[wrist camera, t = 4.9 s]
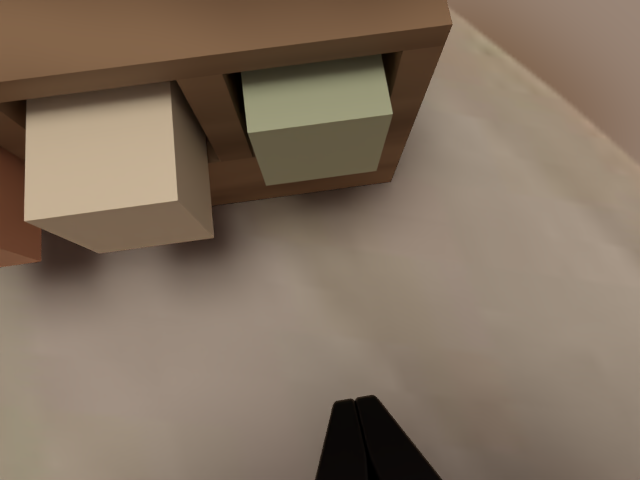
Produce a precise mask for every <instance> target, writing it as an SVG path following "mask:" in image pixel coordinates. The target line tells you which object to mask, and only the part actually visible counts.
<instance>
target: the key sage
mask: <svg viewBox="0 0 640 480" xmlns="http://www.w3.org/2000/svg"><path fill="white" fill-rule="evenodd" d="M241 77H242V87H243V96H244V105H245V114H246V123H247V132H248V136H249V138H250V141H251V144H252V147H253V150H254V153H255V155H256V158H257V161H258V164H259V167H260V170H261V172H262V175H263V178H264V181H265V184H266V186H269V185H276V184H283V183H291V182H298V181H306V180H313V179H320V178H328V177H335V176H343V175H350V174H358V173H365V172H372V171H377V167H378V164H379V160H380V157H381V153H382V150H383V147H384V143H385V140H386V136H387V133H388V129H389V126H390V122H391V119H392V115H393V112H392V107H391V102H390V97H389V92H388V87H387V82H386V77H385V72H384V67H383V62H382V57H381V54H376V55H368V56H360V57H352V58H344V59H337V60H329V61H321V62H313V63H306V64H298V65H290V66H282V67H274V68H267V69H259V70H251V71H243V72H241Z"/></svg>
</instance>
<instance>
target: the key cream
mask: <svg viewBox="0 0 640 480" xmlns="http://www.w3.org/2000/svg"><path fill="white" fill-rule="evenodd" d="M24 221H25V222H27V223H29V224H32V225H34V226H36V227H39V228H41V229H43V230H46V231H48V232H50V233H53V234H55V235H57V236H59V237H62V238H64V239H66V240H69V241H71V242H73V243H76V244H78V245H80V246H83V247H85V248H87V249H90V250H92V251H94V252H96V253H99V254H101V253H108V252H115V251H122V250H130V249H137V248H144V247H152V246H159V245H166V244H173V243H181V242H188V241H195V240H203V239H210V238H214V229H213V217H212V205H211V193H210V182H209V170H208V158H207V147H206V135H205V132H204V130H203V128H202V126H201V125H200V123H199V121H198V119H197V117H196V115H195V114H194V112H193V110H192V108H191V106H190V105H189V103H188V101H187V99H186V97H185V95H184V94H183V92H182V90H181V88H180V86H179V84H178V83H177V81H176V80H173V81H165V82H158V83H150V84H142V85H134V86H126V87H119V88H111V89H103V90H95V91H88V92H80V93H72V94H64V95H56V96H49V97H41V98H33V99H27V102H26V150H25V199H24Z"/></svg>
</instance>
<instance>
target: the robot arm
mask: <svg viewBox="0 0 640 480" xmlns="http://www.w3.org/2000/svg"><path fill="white" fill-rule="evenodd" d="M315 480H442V479H441V477H440V476H439V475H438V474H437V472H436V471H435V470H434V469H433V467H432V466H431V465H430V464H429V462H428V461H427V460H426V459H425V457H424V456H423V455H422V453H421V452H420V451H419V450H418V448H417V447H416V446H415V445H414V443H413V442H412V441H411V440H410V438H409V437H408V436H407V435H406V433H405V432H404V431H403V429H402V428H401V427H400V426H399V424H398V423H397V422H396V421H395V419H394V418H393V417H392V416H391V414H390V413H389V412H388V411H387V409H386V408H385V407H384V405H383V404H382V403H381V402H380V400H379V399H378V398H377V397H376V396H374V395H369V396H363V397H358V398H356V399H355V401H354V400H353V399H345V400H339V401H336V402H334V404H333V407H332V411H331V415H330V419H329V424H328V428H327V432H326V436H325V440H324V444H323V449H322V453H321V457H320V461H319V465H318V469H317V473H316V478H315Z"/></svg>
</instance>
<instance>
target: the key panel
mask: <svg viewBox="0 0 640 480" xmlns="http://www.w3.org/2000/svg"><path fill="white" fill-rule="evenodd" d="M451 27H452V20H451V16H450V12H449V8H448V4H447V0H0V146H1V147H3V148H4V149H6V150H8V151H9V152H11V153H12V154H14V155H15V156H17V157H19V158H20V159H22V160H23V161H25V150H26V102H27V99H33V98H41V97H49V96H56V95H64V94H72V93H80V92H88V91H95V90H103V89H111V88H119V87H126V86H134V85H142V84H150V83H158V82H165V81H173V80H176V81H177V83H178V84H179V86H180V88H181V90H182V92H183V94H184V95H185V97H186V99H187V101H188V103H189V105H190V106H191V108H192V110H193V112H194V114H195V115H196V117H197V119H198V121H199V123H200V125H201V126H202V128H203V130H204V132H205V135H206V147H207V158H208V170H209V182H210V193H211V205H212V206H215V205H222V204H229V203H237V202H244V201H252V200H259V199H266V198H274V197H281V196H289V195H296V194H303V193H311V192H318V191H325V190H333V189H340V188H348V187H355V186H362V185H370V184H377V183H384V182H391V180H392V177H393V175H394V172H395V170H396V167H397V165H398V162H399V159H400V157H401V154H402V152H403V149H404V147H405V144H406V142H407V139H408V137H409V134H410V131H411V129H412V126H413V124H414V121H415V119H416V116H417V114H418V111H419V108H420V106H421V103H422V101H423V98H424V96H425V93H426V91H427V88H428V85H429V83H430V80H431V78H432V75H433V73H434V70H435V68H436V65H437V63H438V60H439V57H440V55H441V52H442V50H443V47H444V45H445V42H446V40H447V37H448V34H449V32H450V29H451ZM376 54H381V57H382V62H383V67H384V72H385V77H386V82H387V87H388V92H389V97H390V102H391V107H392V112H393V115H392V119H391V122H390V126H389V129H388V133H387V136H386V140H385V143H384V147H383V150H382V153H381V157H380V160H379V164H378V167H377V171H372V172H365V173H358V174H350V175H343V176H335V177H328V178H320V179H313V180H306V181H298V182H291V183H283V184H276V185H269V186H266V184H265V181H264V178H263V175H262V172H261V170H260V167H259V164H258V161H257V158H256V155H255V153H254V150H253V147H252V144H251V141H250V138H249V136H248V132H247V123H246V114H245V105H244V96H243V87H242V77H241V72H243V71H251V70H259V69H267V68H274V67H282V66H290V65H298V64H306V63H313V62H321V61H329V60H337V59H344V58H352V57H360V56H368V55H376Z"/></svg>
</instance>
